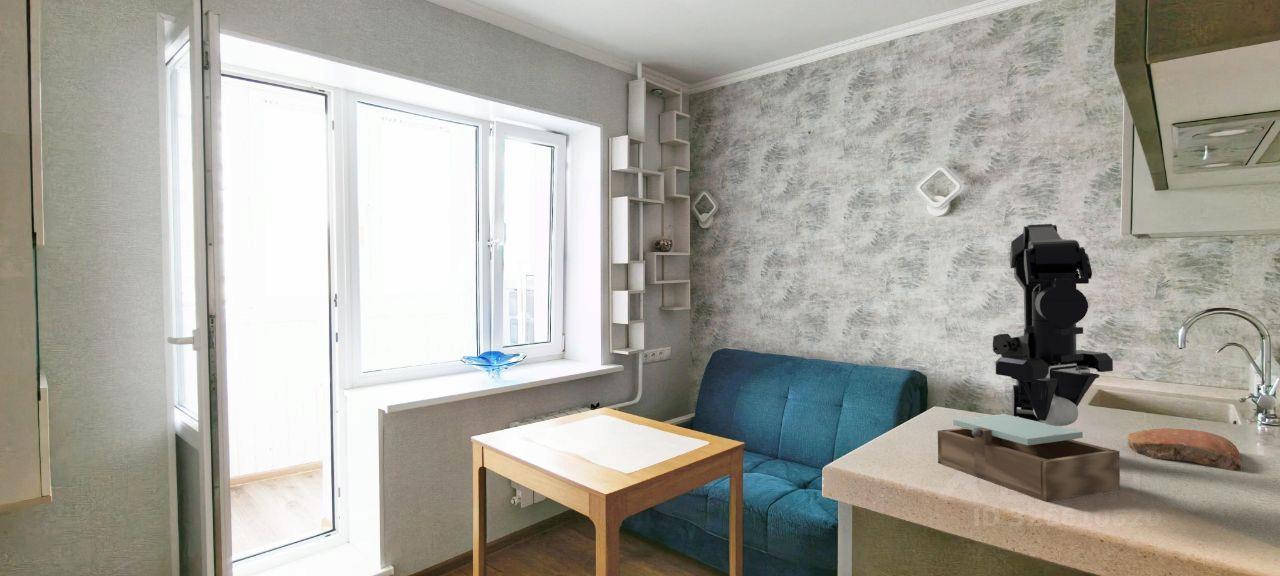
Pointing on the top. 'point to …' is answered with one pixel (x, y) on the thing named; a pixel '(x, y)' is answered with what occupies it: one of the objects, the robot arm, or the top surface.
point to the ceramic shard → (1186, 447)
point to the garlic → (1061, 412)
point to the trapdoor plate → (1019, 429)
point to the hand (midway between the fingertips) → (1054, 418)
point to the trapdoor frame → (1031, 463)
